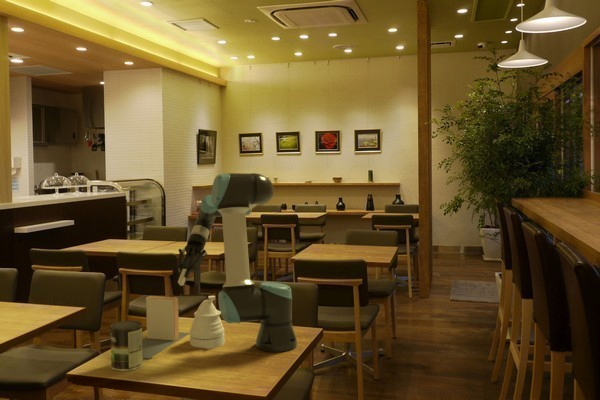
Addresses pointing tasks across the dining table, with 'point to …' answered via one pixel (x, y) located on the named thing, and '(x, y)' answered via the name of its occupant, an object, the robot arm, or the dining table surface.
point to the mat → (157, 345)
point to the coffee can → (126, 345)
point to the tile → (162, 318)
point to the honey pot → (207, 326)
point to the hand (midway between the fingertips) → (180, 283)
